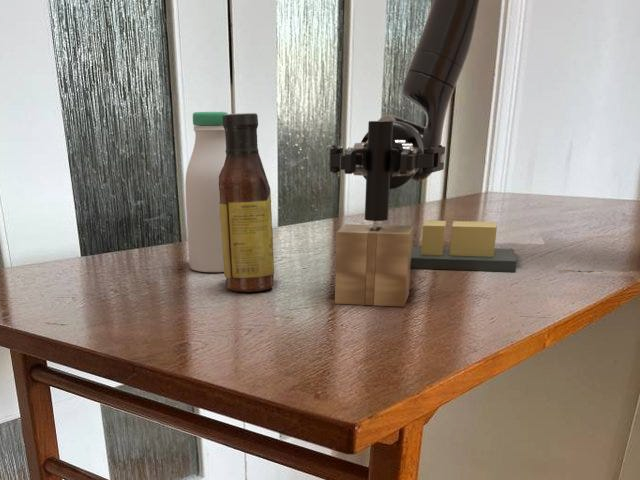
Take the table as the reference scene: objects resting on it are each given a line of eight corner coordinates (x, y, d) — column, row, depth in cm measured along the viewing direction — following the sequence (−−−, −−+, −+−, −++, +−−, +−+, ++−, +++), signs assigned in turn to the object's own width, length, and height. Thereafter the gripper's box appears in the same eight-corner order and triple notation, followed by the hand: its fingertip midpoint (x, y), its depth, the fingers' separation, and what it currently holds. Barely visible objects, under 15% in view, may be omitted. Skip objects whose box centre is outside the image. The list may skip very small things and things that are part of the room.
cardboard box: (408, 295, 91) (413, 225, 87) (404, 307, 85) (409, 233, 82) (342, 292, 92) (344, 224, 89) (334, 303, 87) (336, 231, 83)
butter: (512, 259, 111) (517, 220, 109) (515, 272, 103) (520, 230, 100) (403, 255, 115) (405, 217, 112) (397, 268, 106) (399, 227, 104)
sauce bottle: (284, 288, 95) (283, 112, 86) (249, 296, 91) (244, 113, 82) (247, 281, 99) (243, 112, 90) (212, 289, 95) (203, 113, 86)
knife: (384, 297, 90) (394, 120, 81) (382, 302, 87) (391, 121, 79) (363, 296, 90) (370, 121, 82) (360, 301, 88) (367, 121, 79)
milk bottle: (242, 273, 103) (237, 111, 95) (186, 273, 104) (176, 112, 95) (245, 263, 110) (241, 111, 101) (193, 263, 110) (184, 111, 102)
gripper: (336, 121, 94) (309, 124, 80) (453, 121, 91) (447, 123, 77) (334, 185, 98) (309, 199, 83) (447, 187, 95) (441, 202, 80)
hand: (375, 163), depth 80 cm, fingers open, 5 cm apart
